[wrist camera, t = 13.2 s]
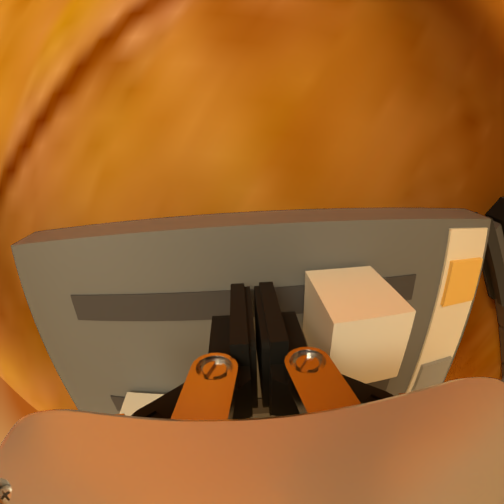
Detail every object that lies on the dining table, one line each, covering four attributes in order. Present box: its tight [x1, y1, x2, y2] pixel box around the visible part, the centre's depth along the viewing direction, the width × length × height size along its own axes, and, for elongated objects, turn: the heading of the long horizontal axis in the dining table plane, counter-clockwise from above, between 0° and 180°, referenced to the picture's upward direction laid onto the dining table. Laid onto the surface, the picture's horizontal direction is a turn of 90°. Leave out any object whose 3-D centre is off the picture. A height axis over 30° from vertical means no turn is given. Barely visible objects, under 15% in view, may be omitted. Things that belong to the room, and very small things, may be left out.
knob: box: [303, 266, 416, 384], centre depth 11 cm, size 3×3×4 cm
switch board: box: [11, 208, 491, 418], centre depth 16 cm, size 21×26×3 cm
